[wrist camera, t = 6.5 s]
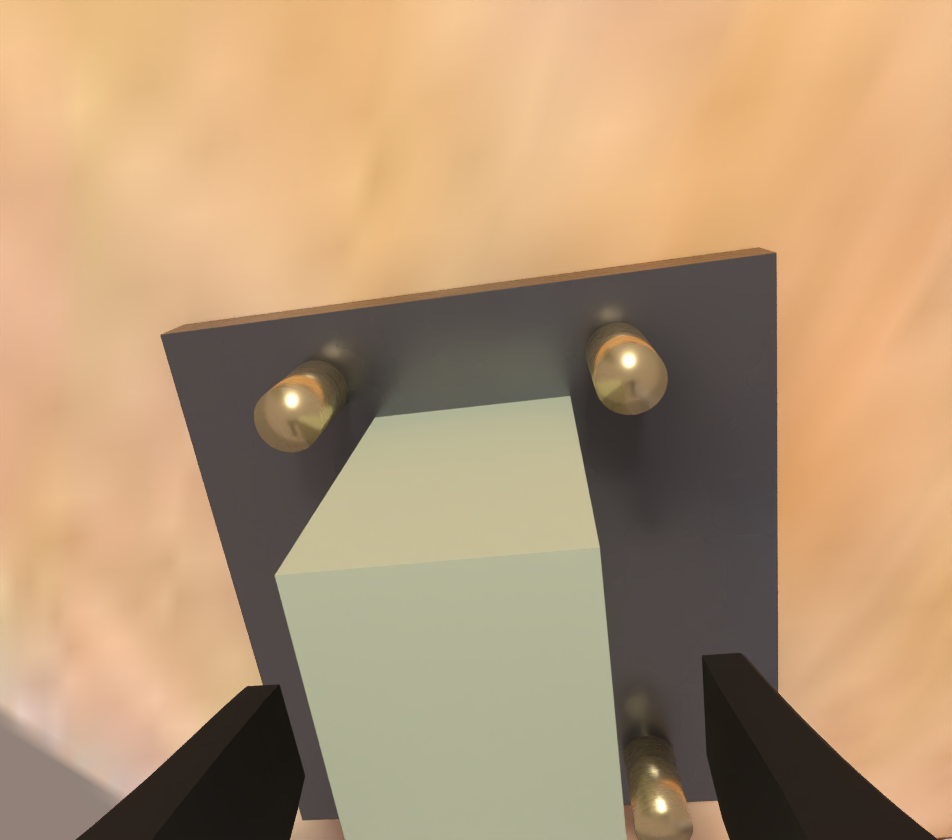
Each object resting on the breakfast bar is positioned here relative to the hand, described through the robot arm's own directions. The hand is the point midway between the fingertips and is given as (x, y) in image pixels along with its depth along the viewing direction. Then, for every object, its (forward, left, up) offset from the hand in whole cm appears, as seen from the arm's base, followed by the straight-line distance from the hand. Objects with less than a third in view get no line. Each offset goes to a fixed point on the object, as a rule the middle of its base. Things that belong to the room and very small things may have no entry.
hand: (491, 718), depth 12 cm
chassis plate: (0, 0, -5) cm, 5 cm away
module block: (0, 0, -4) cm, 4 cm away
